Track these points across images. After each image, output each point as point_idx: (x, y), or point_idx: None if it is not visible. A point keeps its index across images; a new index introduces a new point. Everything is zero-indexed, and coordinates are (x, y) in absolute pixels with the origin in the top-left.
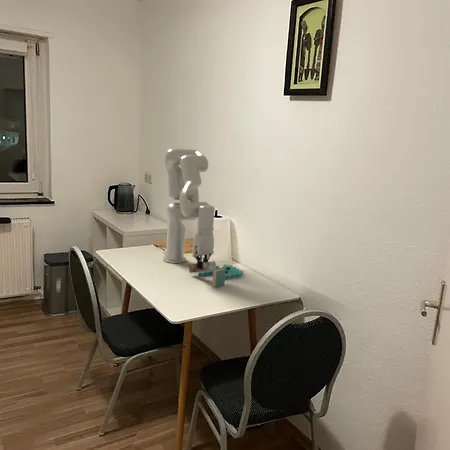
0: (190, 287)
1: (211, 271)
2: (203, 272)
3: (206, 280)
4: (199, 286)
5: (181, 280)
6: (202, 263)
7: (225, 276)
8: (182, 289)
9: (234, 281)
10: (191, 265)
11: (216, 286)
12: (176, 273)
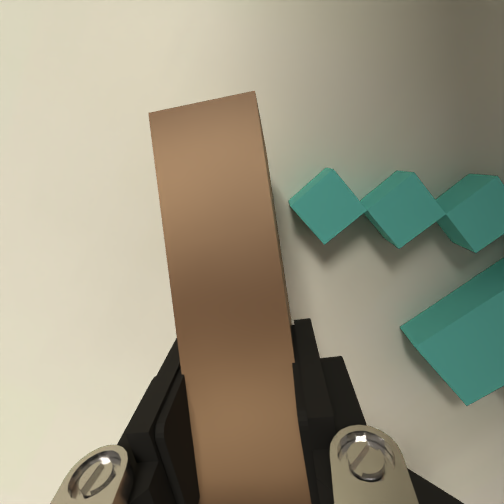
0: (81, 403)
1: (463, 227)
2: (347, 222)
3: None
4: None
5: (68, 250)
6: (199, 488)
7: (483, 388)
8: (12, 409)
9: (488, 438)
10: (165, 191)
11: None
12: (94, 19)
